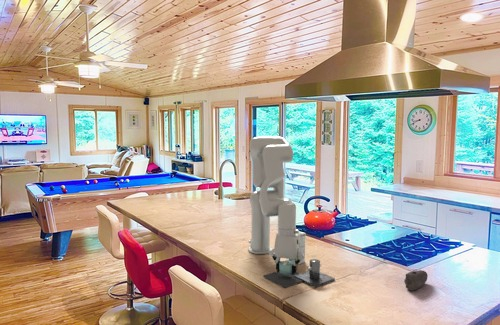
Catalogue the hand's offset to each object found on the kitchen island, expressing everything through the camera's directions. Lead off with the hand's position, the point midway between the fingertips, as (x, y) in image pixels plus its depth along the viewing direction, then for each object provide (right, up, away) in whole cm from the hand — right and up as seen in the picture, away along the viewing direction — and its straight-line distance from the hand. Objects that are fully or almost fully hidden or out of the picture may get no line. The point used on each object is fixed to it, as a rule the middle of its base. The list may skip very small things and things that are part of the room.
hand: (286, 272), depth 159 cm
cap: (0, 0, 0) cm, 0 cm away
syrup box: (+7, -1, +19) cm, 21 cm away
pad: (0, -3, 0) cm, 3 cm away
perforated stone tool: (+52, -4, -8) cm, 53 cm away
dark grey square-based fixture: (+12, -3, -1) cm, 12 cm away
